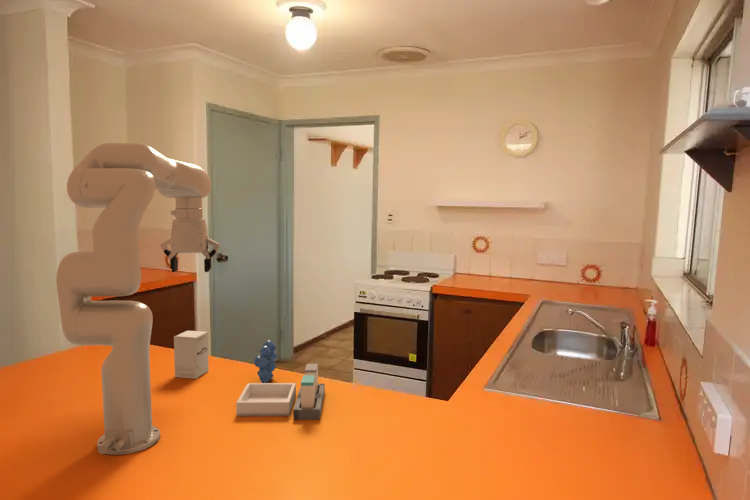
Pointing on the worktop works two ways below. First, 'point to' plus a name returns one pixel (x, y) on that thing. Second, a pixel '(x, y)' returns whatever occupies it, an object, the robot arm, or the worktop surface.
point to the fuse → (313, 373)
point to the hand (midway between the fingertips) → (191, 271)
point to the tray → (266, 399)
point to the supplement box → (191, 354)
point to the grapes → (266, 361)
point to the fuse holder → (309, 412)
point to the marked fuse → (308, 391)
